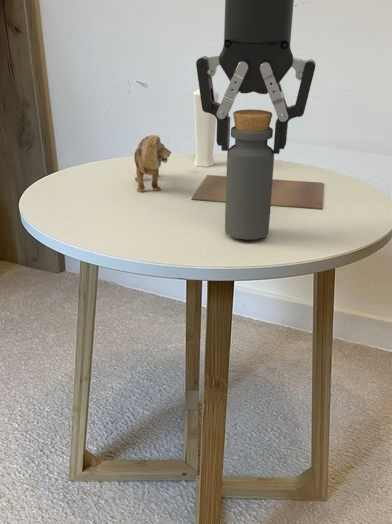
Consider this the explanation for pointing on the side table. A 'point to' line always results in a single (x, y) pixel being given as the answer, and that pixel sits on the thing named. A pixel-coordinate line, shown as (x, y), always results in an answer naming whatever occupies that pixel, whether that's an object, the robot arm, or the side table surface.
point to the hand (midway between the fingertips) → (251, 150)
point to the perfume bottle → (204, 132)
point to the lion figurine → (150, 160)
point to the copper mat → (282, 194)
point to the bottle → (249, 176)
